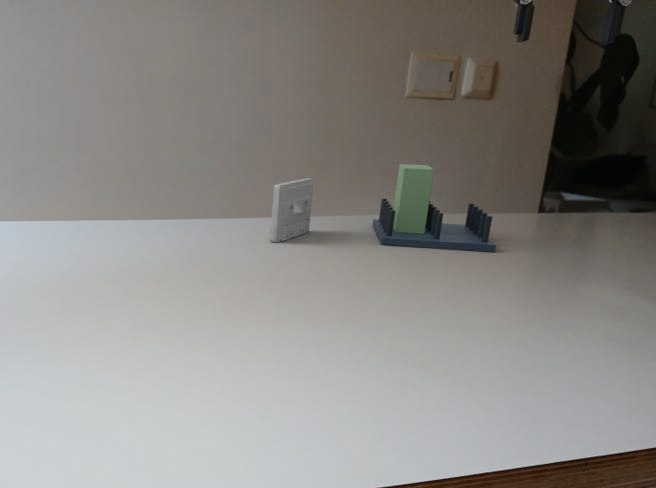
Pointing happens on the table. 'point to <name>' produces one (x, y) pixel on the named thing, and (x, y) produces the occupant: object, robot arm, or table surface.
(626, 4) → the robot arm
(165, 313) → the table surface
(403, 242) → the rack
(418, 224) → the block
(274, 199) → the cassette
